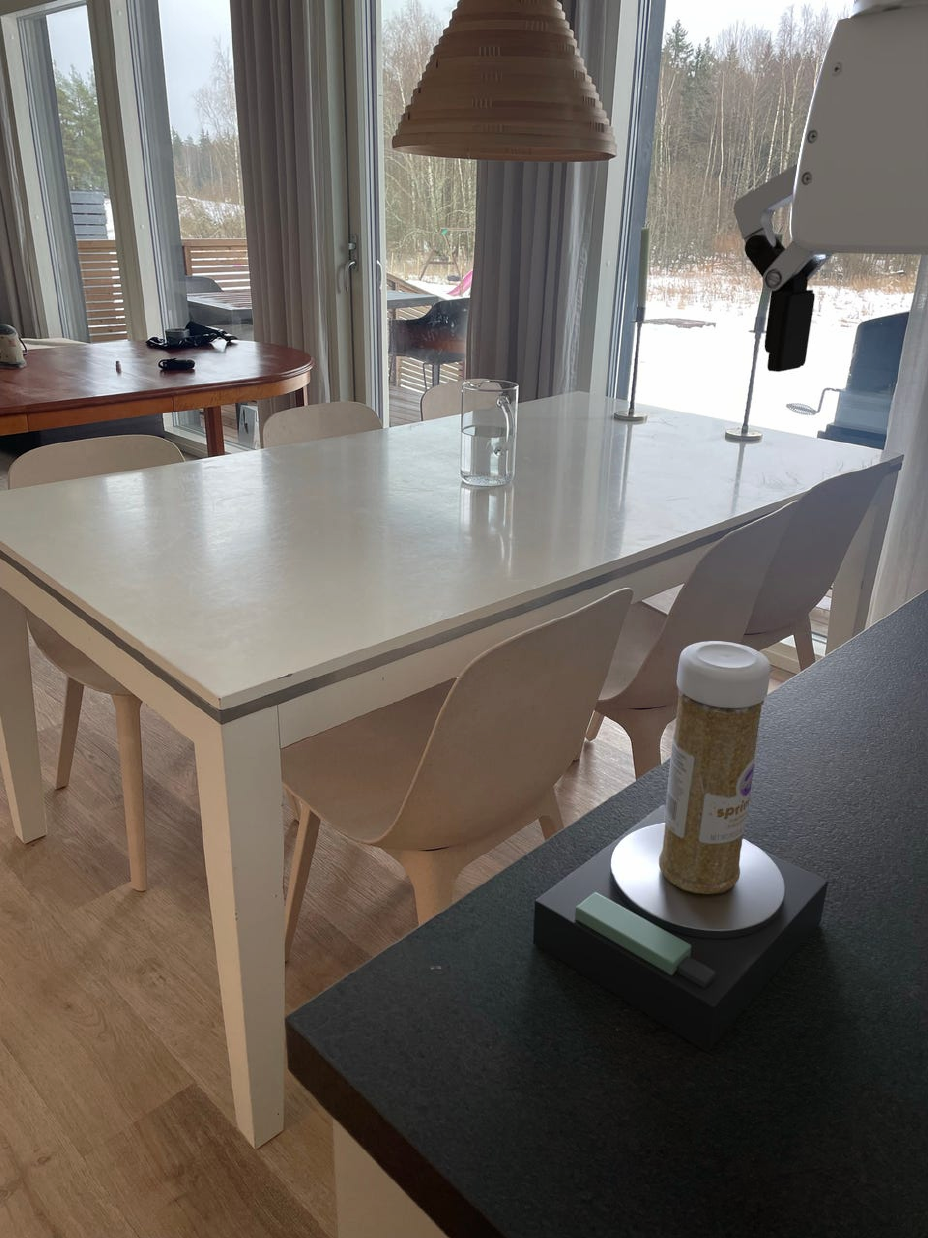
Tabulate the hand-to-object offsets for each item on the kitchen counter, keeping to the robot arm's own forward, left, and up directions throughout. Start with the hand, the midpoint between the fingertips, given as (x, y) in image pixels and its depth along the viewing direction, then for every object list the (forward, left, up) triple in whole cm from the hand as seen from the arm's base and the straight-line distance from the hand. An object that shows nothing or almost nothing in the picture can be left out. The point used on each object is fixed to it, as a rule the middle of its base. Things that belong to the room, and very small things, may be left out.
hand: (876, 378), depth 47 cm
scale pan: (+9, -2, -27) cm, 29 cm away
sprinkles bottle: (+9, -2, -27) cm, 28 cm away
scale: (+10, -2, -30) cm, 32 cm away
